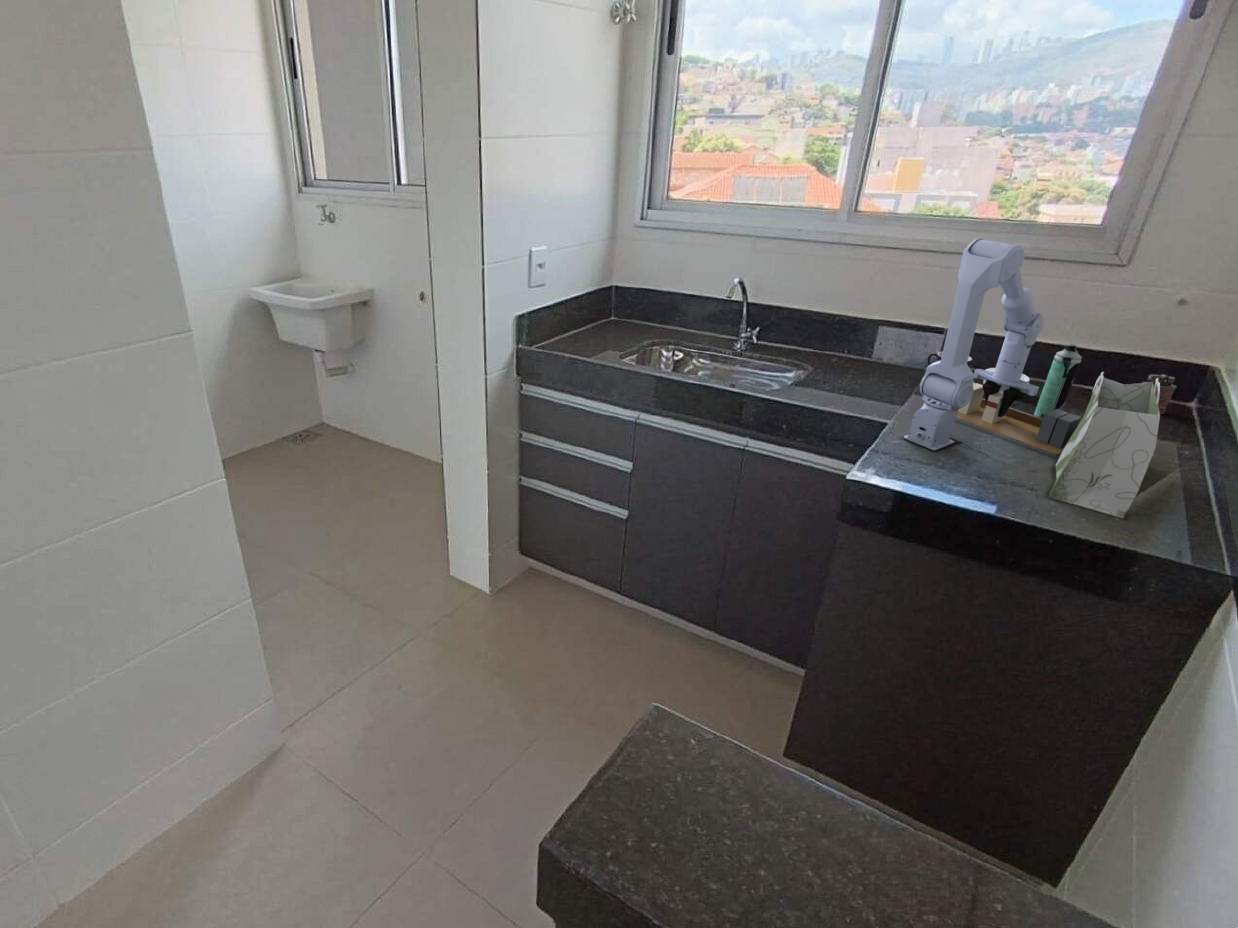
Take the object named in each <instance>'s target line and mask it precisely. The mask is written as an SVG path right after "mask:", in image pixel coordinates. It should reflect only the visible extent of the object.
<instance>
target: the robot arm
mask: <svg viewBox="0 0 1238 928" xmlns="http://www.w3.org/2000/svg"><path fill="white" fill-rule="evenodd" d="M1025 258H1026V256H1025V250H1024V248H1023V246H1022V245H1020V244H1011V243H1004V242H998V241H992V240H988V239H984V238H980V237H977V238H975V239H973V240H972V241H971V242H970V243H969V244H968V245H967V247H965V249H963V251H962V256H961V260H960V264H959V269H958V274H957V279H958V283H957V284H958V285H957V289H956V293H955V297H954V301H953V306H952V310H951V314H950V318H949V324H948V327H947V332H946V336H945V341H944V344H943V349H942V352H943V353H942V357H941V360H940V361H938V362H936V361H935V362H932V363H930V364H931V365H928V366H927V367H926V369H925V373H924V375H923V377H922V379H921V381H920V383H919V392H920V394H921V395H922V397H921V400H922V401H924V402H923V405H922V406H921V408H919V409H918V410H916V411H915V412H914V414H913V416H912V419H911V423H910V427H909V430H908V434H906V435H904V436H903V439H904V440H907V441H910V442H912V443H915V444H917V445H918V446H919V445H920V446H922V447H924V448H927V449H929V450H932V451H938V450H940V449H943V448H945V447H948V446H949V445H952V444H953V445H954V444H955V443H957V442H958V439H955V438H953V437H951V436H952V433H953V429H954V426H955V423H956V419H957V418H956V416H957V413H958V410H959V409H961V408H963V407H964V406H966V405H967V404H968V403H969V401H970V400H971V398H972V396H973V392H974V389H973V382H974V380H975V379H980V380H983V381H984V380H986V382H985V383H984V384H983V383H982V385H983V386H982V387H983V390H984V394H983V395H984V399H985V407H986V403H987V400H988V398H989V395H992V394H995V393H998V392H999V390H1000V388H1001V386H1005V387H1008V388H1009V389H1007V390H1004V391H1003V399H1002V404H1001V407H1000V410H999V412H998V417H1003V416H1005V414H1006V412H1007V410H1008V409H1009V407H1011V406H1012V405H1013V404H1014V403H1015V402H1016V401H1017V399H1018V398H1019V397H1020V396H1022V395H1023V393H1024V394H1027V395H1028V396H1030V397H1034V396H1037V394H1038V392H1039V390H1040V386H1037V385H1034V384H1031V383H1030V382H1029V383H1027V382H1025V381H1023V380H1020V378H1021V375H1022V374H1023V371H1024V368H1025V366H1026V363H1027V360H1028V357H1029V353H1030V352H1031V348H1032V345H1035V343H1036V342H1037V339H1038V336H1039V335H1040V333H1041V332H1042V331H1043V329H1044V326H1045V317H1044V316H1043V315H1042V313H1040V312H1038V311H1037V309H1036V306H1035V302H1034V299H1033V296H1032V293H1031V289H1030V288H1027V287H1025V286H1024V284H1023V280H1022V279H1023V278H1022V273H1021V269H1022V266H1023V265H1024V262H1025ZM998 287H1000V288H1001V289H1002V291H1003V293H1004V294H1003V295H1002V297H1001V304H1002V307H1003V310H1004V313H1005V314H1004V321H1003V329H1004V331H1006V333H1005V338H1004V340H1003V344H1002V347H1001V350H1000V353H999V356H998V359H997V362H996V365H995V367H994V368H995V371H994V372H990V371H985V370H986V369H982V368H976V369H974V372H973V371H972V370H971V368H970V366H969V367H968V365H967V361H968V357H970V354H971V350H972V345H973V341H974V338H975V334H976V329H977V326H978V322H979V318H980V313H981V309H982V306H983V302H984V298H985V294H986V292H987V291H988V290H990V289H994V288H998Z"/></svg>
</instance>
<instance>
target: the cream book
mask: <svg viewBox="0 0 1238 928" xmlns="http://www.w3.org/2000/svg"><path fill="white" fill-rule="evenodd" d="M1002 399H1003V391H1001V392H998V393H995V394H992V395H989V398H988V400H987V403H986V407H985V410H984V414H983V417H982V421H985V422H988V423H991V424H992V423H995V422H997V421H1000V420H1003V419H1004V417H1005V416H1003V417H998V412H999V410H1000V407H1001V404H1002Z"/></svg>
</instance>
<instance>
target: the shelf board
mask: <svg viewBox="0 0 1238 928" xmlns="http://www.w3.org/2000/svg"><path fill="white" fill-rule="evenodd" d="M984 410H985V397H983V398H982V401H981V404H980V407H979V410H978V411H975V412H972V413H969V414H967V415H966V414H963V413H960V412H958V413H957V416H956V419H959V420H962V421H964V422H967V423H970V424H972V425H975V426H978V427H981V428H984V429H986V430H989V431H992V432H994V433H997V434H1000V435H1003V436H1005V437H1007V438H1010V439H1013V440H1017V441H1018V442H1022V443H1024V444H1027V445H1030V446H1033V447H1034V448H1038V449H1040V450H1044V451H1046V452H1049V453H1052V454H1054V455H1057V456H1058V455H1061V454H1062V452H1063V450H1064V448H1065V447H1062V448H1058V447H1055V446H1052V445H1049V443H1048V444H1046V443H1044V442H1041V441H1038V440H1036V437H1037V435H1038V432H1039V429H1040V426H1041V424H1042V421H1043V418H1041V417H1038V416H1035V415H1034V414H1031V413H1029V412H1025V411H1022V410H1020V409H1016V408H1014V407H1011V406H1010V407H1009V409H1008V410H1007V412H1006V414H1005V417H1004V419H1003V420H1000V421H997V422H995V423H992V424H991V423H988V422H985V421H982V417H983V414H984Z"/></svg>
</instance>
